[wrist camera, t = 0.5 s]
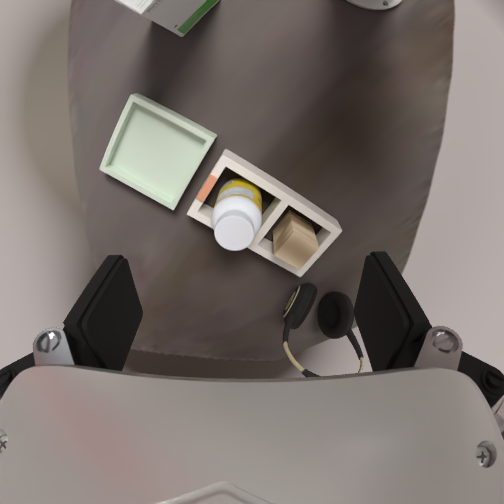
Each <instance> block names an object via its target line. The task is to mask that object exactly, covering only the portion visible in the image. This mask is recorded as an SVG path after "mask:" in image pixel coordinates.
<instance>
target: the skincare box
mask: <svg viewBox="0 0 504 504" xmlns="http://www.w3.org/2000/svg"><path fill="white" fill-rule="evenodd" d="M114 1H116V2H118V3H120V4H122V5H124V6H125V7H127V8H129V9H131V10H133V11H135V12H137V13H138V14H140V15H142V16H144V17H146V18H148V19H150V20H152V21H154V22H155V23H157V24H159V25H161V26H163V27H165V28H166V29H168V30H170V31H172V32H173V33H175V34H177V35H179V36H180V37H183V36H184V35H185V34H186V33H187V32H188V31H189V30H190V29H191V28H192V27H193V26H194V25H195V24H196V23H197V22H198V21H199V20H200V19H201V18H202V17H203V16H204V15H205V14H206V13H207V12H208V11H209V10H210V9H211V8H212V7H213V6H214V5H215V4H216V3H217V2H218V1H220V0H114Z"/></svg>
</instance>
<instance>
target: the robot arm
mask: <svg viewBox="0 0 504 504" xmlns="http://www.w3.org/2000/svg"><path fill="white" fill-rule="evenodd" d="M346 1H348V2H350V3H352V4H354V5H356V6H359V7H361V8H365V9H369V10H385V9H389V8H392V7H394V6H396V5H397V4H399V3H400V2H401V1H402V0H346ZM383 4H384V5H385V6H384V5H383ZM142 316H143V311H142V307H141V304H140V301H139V298H138V294H137V291H136V288H135V285H134V281H133V278H132V274H131V271H130V267H129V263H128V260H127V259H124V257H123V256H122V255H108V256H107V258H106V259H105V260H104V262H103V263H102V265H101V266H100V267H99V269H98V270H97V272H96V273H95V275H94V276H93V277H92V279H91V280H90V282H89V283H88V285H87V286H86V288H85V289H84V291H83V292H82V294H81V295H80V297H79V298H78V300H77V301H76V303H75V304H74V306H73V308H72V309H71V311H70V312H69V314H68V316H67V317H66V319H65V320H64V322H63V323H64V325H65V326H64V328H63V330H62V329H60V328H57V327H52V328H48V329H45V330H44V331H42V332H41V333H40V334H39V335H38V336H37V337H36V338H35V340H34V343H33V353H31V354H29V355H27V356H25V357H23V358H21V359H19V360H17V361H15V362H13V363H12V364H10V365H8V366H6V367H4V368H2V369H1V370H0V504H504V375H503V374H502V373H501V371H499V370H498V369H497V368H495V367H493V366H491V365H489V364H487V363H485V362H483V361H481V360H479V359H477V358H475V357H473V356H471V355H469V354H467V353H465V352H463V351H462V346H463V345H462V340H461V338H460V337H459V335H458V334H457V333H456V332H455V331H454V330H452V329H450V328H448V327H444V326H436V327H433V328H432V326H431V325H430V323H429V320H428V318H427V317H426V315H425V313H424V311H423V310H422V308H421V307H420V305H419V303H418V301H417V300H416V298H415V296H414V295H413V293H412V292H411V290H410V288H409V286H408V285H407V283H406V282H405V280H404V279H403V277H402V275H401V274H400V272H399V271H398V269H397V268H396V266H395V265H394V263H393V262H392V260H391V259H390V257H389V256H388V254H387V253H386V252H384V251H383V252H371V253H370V255H367V256H366V259H365V263H364V268H363V273H362V277H361V282H360V286H359V290H358V295H357V299H356V303H355V307H354V316H355V319H356V322H357V325H358V328H359V331H360V333H361V336H362V339H363V342H364V345H365V348H366V351H367V354H368V357H369V360H370V363H371V367H372V370H373V372H365V373H355V374H345V375H333V376H320V377H305V378H281V379H215V378H214V379H213V378H193V377H177V376H176V377H175V376H163V375H152V374H142V373H133V372H126V371H122V369H123V366H124V364H125V361H126V358H127V356H128V353H129V350H130V348H131V345H132V342H133V340H134V337H135V335H136V332H137V330H138V327H139V324H140V322H141V319H142Z"/></svg>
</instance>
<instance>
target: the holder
mask: <svg viewBox="0 0 504 504" xmlns="http://www.w3.org/2000/svg"><path fill="white" fill-rule="evenodd" d="M225 167H228V168H229V169H231V170H233V171H234V172H236V173H238V174H239V175H241V176H243V177H244V178H246V179H248V180H249V181H251V182H253V183H254V184H256V185H258V186H259V187H261V188H263V189H264V190H266V191H267V192H269V193H271V194H272V195H274V196H275V199H274V200H273V201H272V203H271V204H270V205H269V207H268V208H267V209H266V211H265V212H264V214H263V215H262V223H261V227H260V230H259V232H258V233H257V234H256V236H255V237H254V238H253V241H252V242H251V244H250V245H249V246H248V247H247V248H249V249H251V250H252V251H254V252H256V253H258V254H260V255H261V256H263V257H265V258H267V259H269V260H270V261H272V262H274V263H276V264H278V265H279V266H281V267H283V268H285V269H287V270H288V271H290V272H292V273H294V274H296V275H297V276H299V277H301V276H302V275H303V274H304V273H305V272H306V271H307V270H308V269H309V268H310V266H311V265H312V264H313V263H314V262H315V261H316V260H317V259H318V258H319V257H320V256H321V254H322V253H323V252H324V251H325V250H326V249H327V248H328V247H329V246H330V244H331V243H332V242H333V241H334V240H335V239H336V238H337V237H338V235H339V234H340V233H341V232H342V229H341V227H340V225H339V223H338V221H337V220H336V219H335V218H333V217H332V216H331V215H329V214H328V213H326V212H325V211H323V210H322V209H320V208H319V207H317V206H316V205H314V204H313V203H311V202H310V201H308V200H307V199H306V198H304V197H302V196H301V195H299V194H298V193H296V192H295V191H293V190H292V189H290V188H289V187H287V186H286V185H284V184H283V183H281V182H279V181H278V180H276V179H275V178H273V177H272V176H270V175H268V174H267V173H265V172H264V171H262V170H260V169H259V168H257V167H256V166H254V165H252V164H251V163H249V162H247V161H246V160H244V159H242V158H241V157H239V156H237V155H236V154H234V153H232V152H231V151H229V150H227V149H225V150H224V152H223V153H222V155H221V157H220V158H219V160H218V161H217V163H216V165H215V166H214V168H213V169H212V171H211V173H210V174H209V176H208V178H207V179H206V181H205V183H204V184H203V186H202V188H201V189H200V191H199V193H198V194H197V196H196V198H195V199H194V201H193V203H192V205H191V207H190V209H189V211H188V213H187V215H189V216H191V217H193V218H195V219H196V220H198V221H200V222H202V223H204V224H205V225H207V226H209V227H211V228H213V227H212V224H211V215H212V211H213V208H212V207H210V206H208V205H206V204H205V203H203V202H204V201H205V199H206V197H207V196H208V194H209V192H210V191H211V189H212V188H213V186H214V184H215V183H216V181H217V180H218V178H219V176H220V175H221V173H222V171H223V170H224V168H225ZM288 205H290V206H291V207H293V208H294V209H296V210H298V211H299V212H301V213H302V214H304V215H305V216H307V217H308V218H310V219H311V220H313V221H314V222H316V223H318V224H319V225H321V226H322V229H321V230H320V231H319V232H318V233H317V234H316V239H317V242H318V246H319V249H318V250H317V251H316V252H315V253H314V254H313V255H312V257H311V258H310V259H309V260H308V261H307V262H306V263H305V264H304V265H303V266H302V268H301V269H300V270H299V269H297V268H296V267H294V266H292V265H290V264H289V263H287V262H285V261H283V260H282V259H280V258H278V257H276V256H275V255H274V243H273V242H271V241H269V240H268V239H266V238H264V236H265V235H266V233H267V232H268V231H269V229H270V228H271V227H272V226H273V224H274V223H275V222H276V220H277V219H278V218H279V217H280V215H281V214H282V213H283V211H284V210H285V209H286V208H287V206H288Z"/></svg>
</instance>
